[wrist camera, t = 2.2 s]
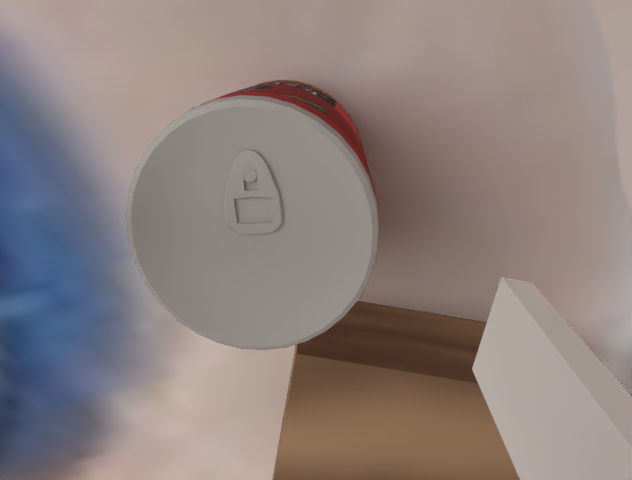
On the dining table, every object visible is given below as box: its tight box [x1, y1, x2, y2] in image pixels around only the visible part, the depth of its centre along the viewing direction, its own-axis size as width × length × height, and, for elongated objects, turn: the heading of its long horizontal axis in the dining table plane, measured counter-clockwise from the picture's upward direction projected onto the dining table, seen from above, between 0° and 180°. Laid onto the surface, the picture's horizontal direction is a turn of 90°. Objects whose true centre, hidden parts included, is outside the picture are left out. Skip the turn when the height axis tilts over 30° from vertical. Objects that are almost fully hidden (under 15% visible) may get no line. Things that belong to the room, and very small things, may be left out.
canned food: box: [126, 80, 379, 350], centre depth 20 cm, size 8×8×11 cm
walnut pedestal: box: [273, 301, 520, 480], centre depth 27 cm, size 14×14×6 cm
